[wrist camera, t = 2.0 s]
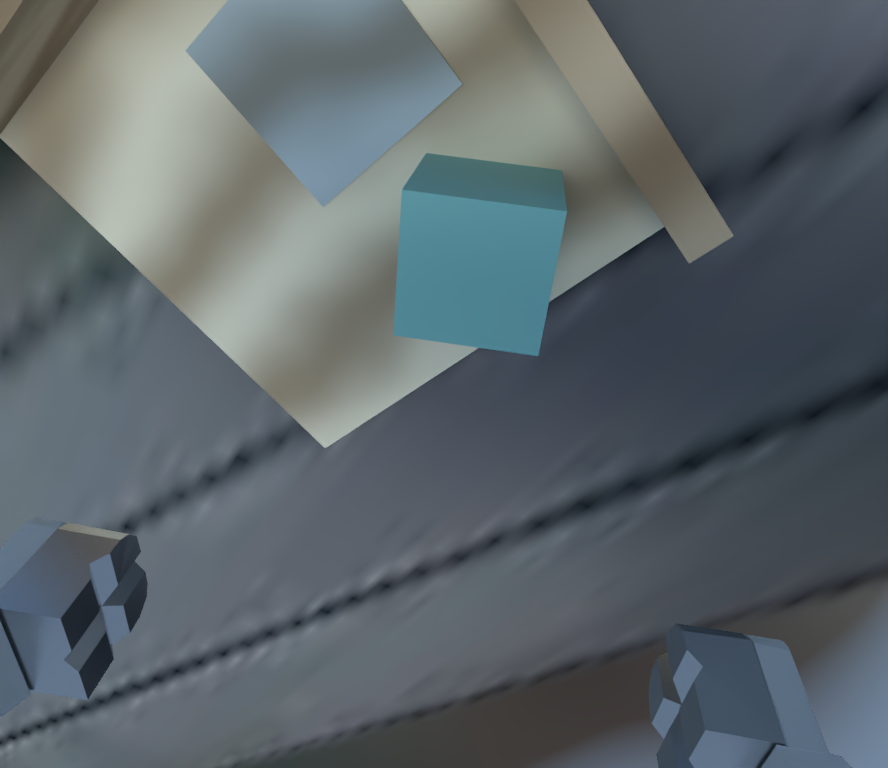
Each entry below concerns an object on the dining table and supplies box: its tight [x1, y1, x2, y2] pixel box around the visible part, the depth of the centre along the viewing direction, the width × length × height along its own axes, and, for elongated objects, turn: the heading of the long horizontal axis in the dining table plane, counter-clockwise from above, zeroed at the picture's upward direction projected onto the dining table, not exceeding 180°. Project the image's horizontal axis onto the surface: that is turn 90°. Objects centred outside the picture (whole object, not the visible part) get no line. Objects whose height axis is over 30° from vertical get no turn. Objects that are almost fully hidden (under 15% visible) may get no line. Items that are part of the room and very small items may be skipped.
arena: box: [0, 0, 733, 448], centre depth 23 cm, size 20×20×5 cm
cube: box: [393, 153, 567, 356], centre depth 23 cm, size 5×5×5 cm
